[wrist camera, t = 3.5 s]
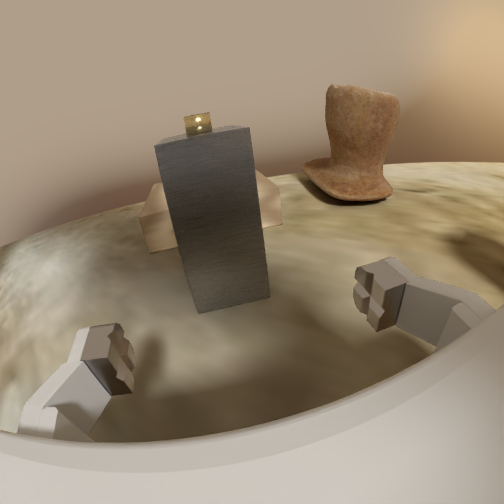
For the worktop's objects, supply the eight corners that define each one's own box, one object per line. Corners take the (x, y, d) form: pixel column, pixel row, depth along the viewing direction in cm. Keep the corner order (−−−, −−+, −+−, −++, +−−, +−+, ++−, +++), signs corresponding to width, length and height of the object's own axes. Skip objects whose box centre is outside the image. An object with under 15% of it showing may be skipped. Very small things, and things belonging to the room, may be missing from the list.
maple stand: (149, 253, 27) (138, 217, 25) (160, 210, 39) (154, 184, 37) (282, 224, 29) (278, 187, 27) (252, 190, 41) (248, 164, 39)
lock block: (198, 313, 18) (150, 123, 12) (194, 269, 23) (161, 123, 17) (270, 297, 19) (246, 105, 13) (251, 256, 24) (229, 109, 18)
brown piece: (415, 204, 30) (415, 84, 23) (329, 213, 30) (319, 77, 23) (367, 174, 43) (363, 88, 36) (301, 179, 43) (292, 88, 36)
